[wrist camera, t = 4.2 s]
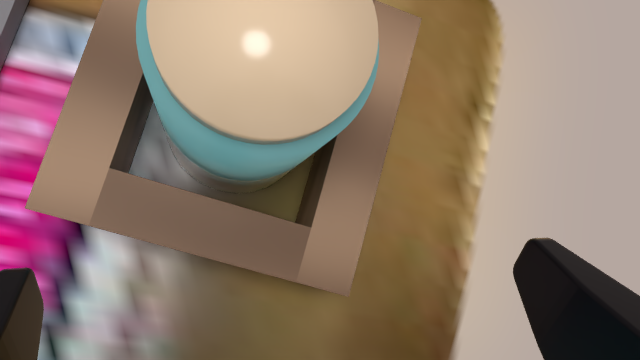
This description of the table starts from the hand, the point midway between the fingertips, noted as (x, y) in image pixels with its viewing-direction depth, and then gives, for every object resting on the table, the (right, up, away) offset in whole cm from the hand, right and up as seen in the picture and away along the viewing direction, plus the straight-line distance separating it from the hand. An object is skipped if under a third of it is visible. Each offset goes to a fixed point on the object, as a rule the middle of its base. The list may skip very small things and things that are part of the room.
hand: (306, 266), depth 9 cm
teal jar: (-3, +4, +11) cm, 12 cm away
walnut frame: (-3, +4, +11) cm, 12 cm away
